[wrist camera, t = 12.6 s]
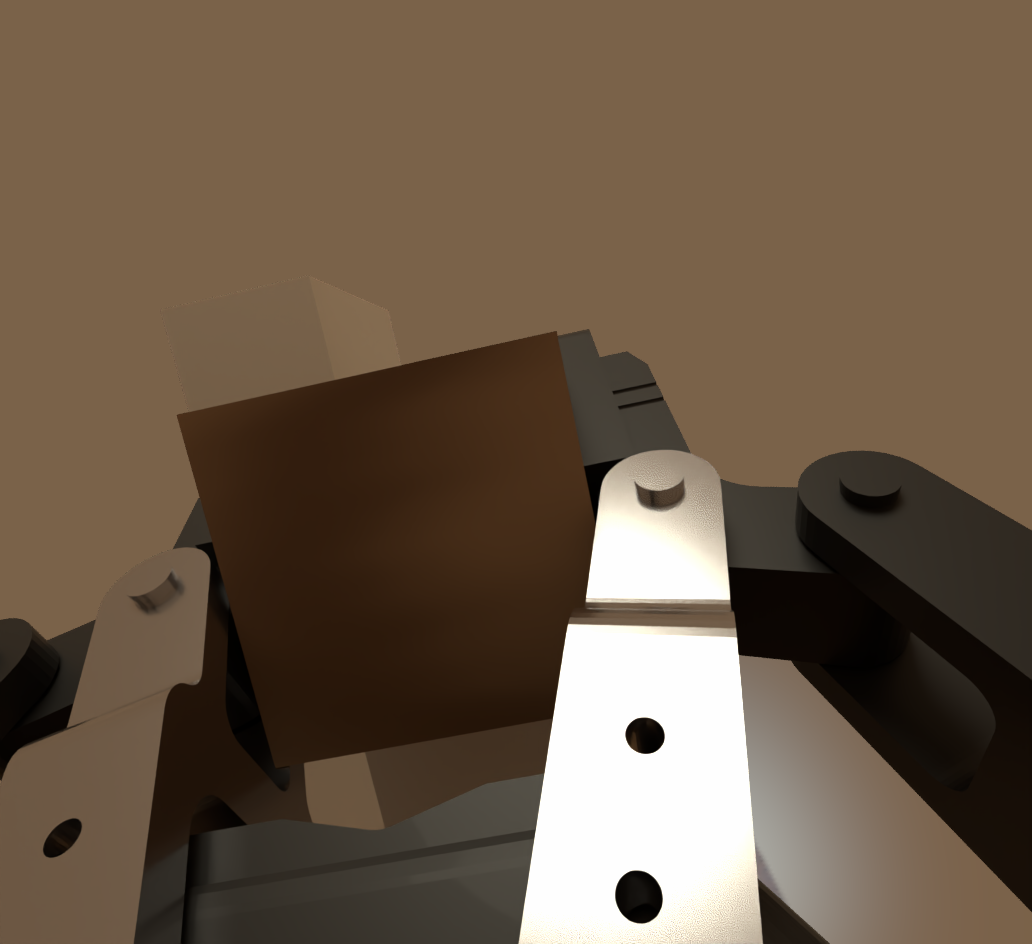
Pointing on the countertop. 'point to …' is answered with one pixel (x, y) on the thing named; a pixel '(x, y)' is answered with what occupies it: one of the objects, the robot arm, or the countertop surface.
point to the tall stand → (275, 368)
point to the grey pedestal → (454, 767)
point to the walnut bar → (400, 546)
